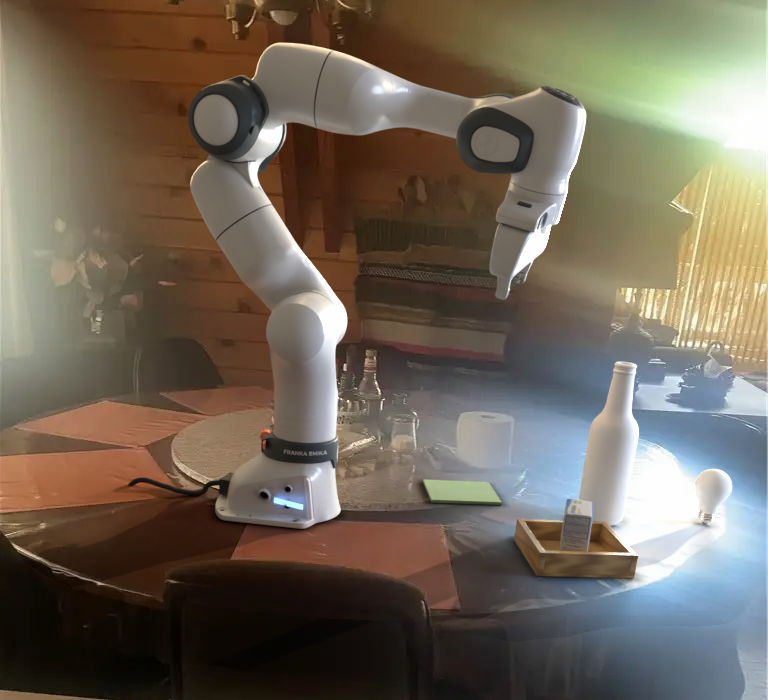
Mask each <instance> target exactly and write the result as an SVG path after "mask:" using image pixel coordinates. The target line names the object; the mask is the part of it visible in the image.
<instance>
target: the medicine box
mask: <svg viewBox="0 0 768 700" xmlns="http://www.w3.org/2000/svg"><path fill="white" fill-rule="evenodd" d="M592 518H593V503H592V502H589V501H584V500H578V499H575V498H566V502H565V506H564V513H563V526H562V533H561V540H560V551H579V552H588V546H589V539H590V532H591V526H592Z"/></svg>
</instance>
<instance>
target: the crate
mask: <svg viewBox="0 0 768 700" xmlns="http://www.w3.org/2000/svg"><path fill="white" fill-rule="evenodd" d="M562 526H563V520H562V519H561V520H559V519H535V518H534V519H532V518H516V523H515V529H514V538H513V540H514V542H515V544H516V545H517V547H518V549H519V550H520V552H521V553H522V555H523V556H524V558H525V560H526V561H527V563H528V564H529V566H530V567H531V569H532V570H533V572H534V574H535V575H536V576H537V577H561V578H562V577H565V578H599V579H600V578H603V579H635V575H636V569H637V565H638V559H639V555H638V554H637V552H635V550H634V549H633V548H632V547H631V546H630V545H629V544H628V543H626V541H625V540H624V539H623V538H622V537H621V536H620V535H619V534H618V533H617V532H616V531H615V530H614V529H613V528H612V527H611V526H609V525H608V524H607V523H606V522H594V521H592V526H591V532H590V539H589V546H588V552H579V551H560V540H561V533H562Z"/></svg>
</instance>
